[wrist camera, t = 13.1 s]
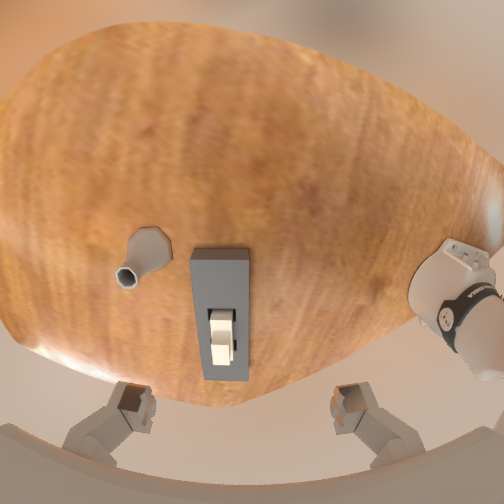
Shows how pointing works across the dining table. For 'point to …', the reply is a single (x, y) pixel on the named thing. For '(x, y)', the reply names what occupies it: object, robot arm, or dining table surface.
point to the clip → (222, 336)
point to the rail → (222, 306)
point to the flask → (144, 256)
